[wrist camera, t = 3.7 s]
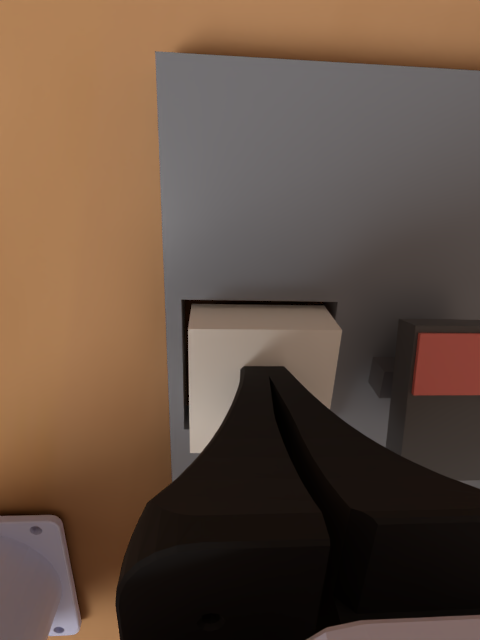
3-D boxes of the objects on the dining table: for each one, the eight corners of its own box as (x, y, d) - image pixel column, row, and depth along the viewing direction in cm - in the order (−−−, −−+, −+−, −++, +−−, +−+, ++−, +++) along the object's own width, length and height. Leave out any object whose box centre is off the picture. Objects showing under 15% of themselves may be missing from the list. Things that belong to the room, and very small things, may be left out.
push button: (192, 415, 15) (189, 453, 13) (191, 303, 13) (187, 328, 11) (309, 414, 15) (323, 451, 13) (324, 305, 13) (342, 330, 11)
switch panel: (179, 580, 20) (175, 637, 17) (162, 64, 11) (149, 40, 9) (484, 569, 21) (517, 621, 18) (682, 93, 12) (791, 80, 10)
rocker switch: (384, 463, 13) (400, 484, 12) (398, 319, 12) (417, 326, 11) (466, 462, 13) (489, 482, 12) (487, 319, 12) (514, 327, 11)
